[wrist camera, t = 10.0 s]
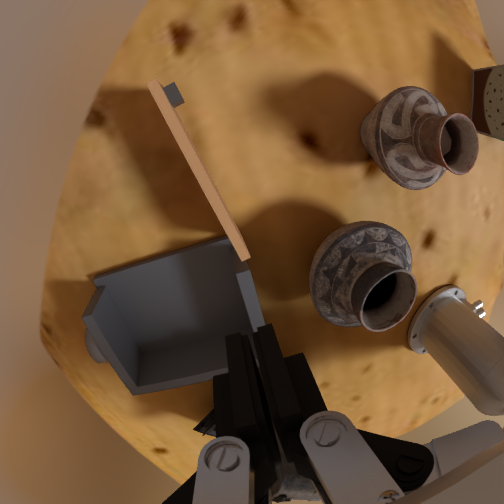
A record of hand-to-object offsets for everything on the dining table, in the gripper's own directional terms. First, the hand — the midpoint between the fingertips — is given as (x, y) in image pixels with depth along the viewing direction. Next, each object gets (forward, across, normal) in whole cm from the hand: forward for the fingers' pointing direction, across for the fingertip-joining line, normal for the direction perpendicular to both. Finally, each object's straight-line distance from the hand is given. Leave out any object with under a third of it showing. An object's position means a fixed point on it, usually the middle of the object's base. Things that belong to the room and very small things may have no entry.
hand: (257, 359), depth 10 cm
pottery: (+21, -14, +2) cm, 26 cm away
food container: (+22, -38, -8) cm, 45 cm away
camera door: (+19, +1, -6) cm, 20 cm away
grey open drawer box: (+20, +8, +8) cm, 24 cm away
